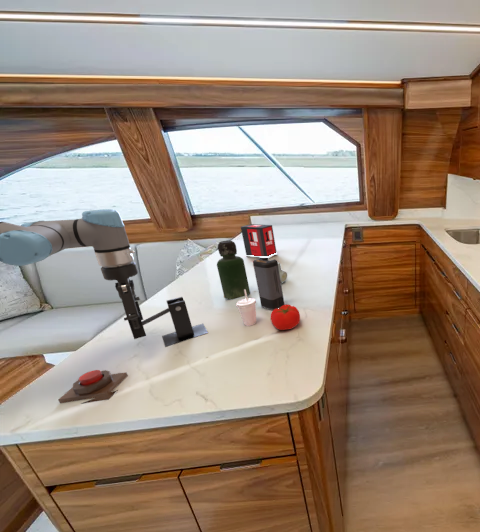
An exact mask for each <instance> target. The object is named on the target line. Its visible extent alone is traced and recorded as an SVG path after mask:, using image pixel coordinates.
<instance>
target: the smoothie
mask: <svg viewBox="0 0 480 532" xmlns="http://www.w3.org/2000/svg"><path fill="white" fill-rule="evenodd" d="M244 292H245V296H244V297H245V298H242V299H239V300H237V302H236V303H235V306H236V308H237V309H238V311H239V314H240V316H241V319H242V322H243V325H244V326H247V327H249V326H253V325H255V324H256V323H257V309H256V308H257V307H256V304H257V300H256V298H254V297H248V295H247V293H246V289H245V290H244Z"/></svg>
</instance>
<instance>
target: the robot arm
mask: <svg viewBox="0 0 480 532" xmlns="http://www.w3.org/2000/svg"><path fill="white" fill-rule="evenodd" d="M81 216H82V217H81V218H76V219H58V220H36V221H29V222H24V223H22V224H21V225H18V224H14V223H11V222H5V221H2V220H0V262H1V263H3V264H5V265H8V266H14V267H15V266H16V267H21V266H29V265H31V264H37V263H39V262H42V261H44V260H46V259H47V258H48V257H51V256H52V255H55V254H57V253H59V252H62V251H64V250H67V249H74V248H83V247H92V248H93V251H94V254H95V258H96V260H97V263H98V266H100V271H101V274H102V277H103V279H104V280H106V281H117V282H115V283H114V284H115V286H114V287H115V290H116V292H117V293H118V297H119V299H120V300H121V303H122V305H123V309H124V313H125V316H126V317H123V320H124V322H126V321H127V322H128V325H129V327H130V331H131V334H132V337H133V339H134V340H137V339H140V338H144V337H147V334H146V331H145V328H144V325H143V324H142V321H144V317H143V314H142V311H141V307H140V304H139V301H140V300H141V299H140V296H137V294H136V292H135V283H134V280H133V279H131V278H132V277H135V276H137V275H138V274H139V271H138V270H139V269H138V267H137V264H136V262H135V261H134V260H135V259H134V255H133V254H135V253H136V252H135V250H134V249H132V248H131V245H130V241H129V238H128V234H127V231H126V226H125V224H124V222H123V218H122V217H121V214H120V212H119V211H117V210H116V209H111V208H105V209H93V210H91V209H90V210H85V211H83V212H82V213H81Z"/></svg>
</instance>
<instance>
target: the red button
mask: <svg viewBox="0 0 480 532" xmlns="http://www.w3.org/2000/svg"><path fill="white" fill-rule="evenodd" d="M101 371H102V370H100V369H93V370H90V371H88V372H86V373H84V374H82V375H80V376H79V378H78V380H79V381H80V383H81V385H82V386H84V385H89V384H92V383H95V382H97V381H99V380H101V379H102V378H103V375H102V373H101Z"/></svg>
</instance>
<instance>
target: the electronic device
mask: <svg viewBox="0 0 480 532" xmlns="http://www.w3.org/2000/svg"><path fill="white" fill-rule="evenodd" d="M278 262H279V261H278V260H277V259H276V258H275V259H270V260H269V259H268V258H255V259H254V260H252V264H253V270H254V276H255V280H256V287H257V292H258V296H259V301H260V306H261V307H262V308H264V307H265V309H267V308H268V310H270V309H271V310H270V311H273V310H274V309H278V308H280V307H281V306H283V305H285V300H284V292H283V287H282V283H281V280H280V274H279V268H278Z"/></svg>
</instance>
